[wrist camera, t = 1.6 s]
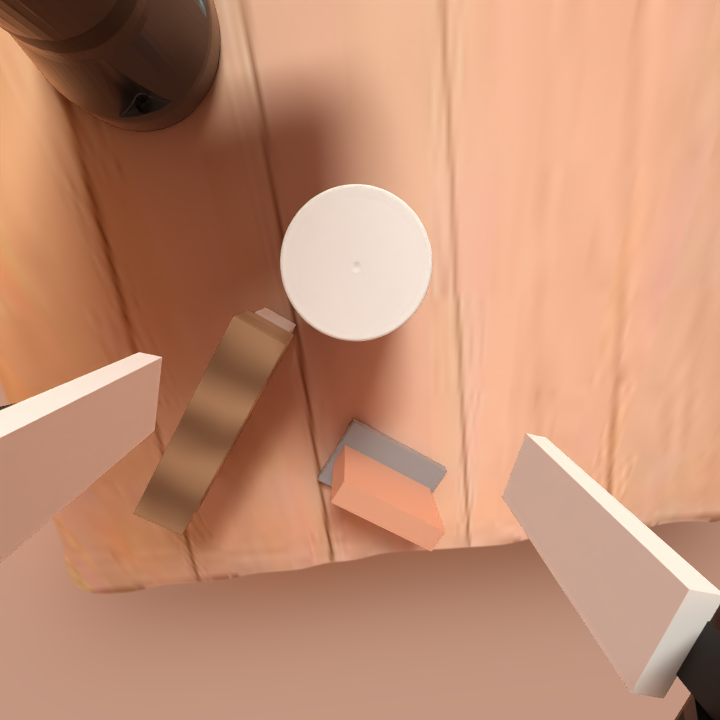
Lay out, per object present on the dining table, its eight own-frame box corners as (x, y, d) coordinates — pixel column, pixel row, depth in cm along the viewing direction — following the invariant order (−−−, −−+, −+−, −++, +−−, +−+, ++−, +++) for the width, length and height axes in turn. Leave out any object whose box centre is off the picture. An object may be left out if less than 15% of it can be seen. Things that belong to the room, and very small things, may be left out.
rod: (201, 503, 37) (181, 535, 32) (159, 484, 36) (133, 513, 32) (294, 334, 33) (285, 345, 28) (249, 309, 32) (233, 316, 28)
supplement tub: (371, 194, 34) (385, 141, 20) (421, 280, 36) (467, 288, 22) (286, 251, 35) (244, 240, 21) (340, 332, 38) (334, 372, 23)
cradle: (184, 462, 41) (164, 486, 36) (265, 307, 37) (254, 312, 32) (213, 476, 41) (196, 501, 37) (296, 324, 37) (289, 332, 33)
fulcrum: (318, 475, 41) (311, 522, 34) (353, 418, 40) (354, 454, 32) (407, 519, 43) (420, 574, 35) (444, 466, 42) (466, 512, 34)
